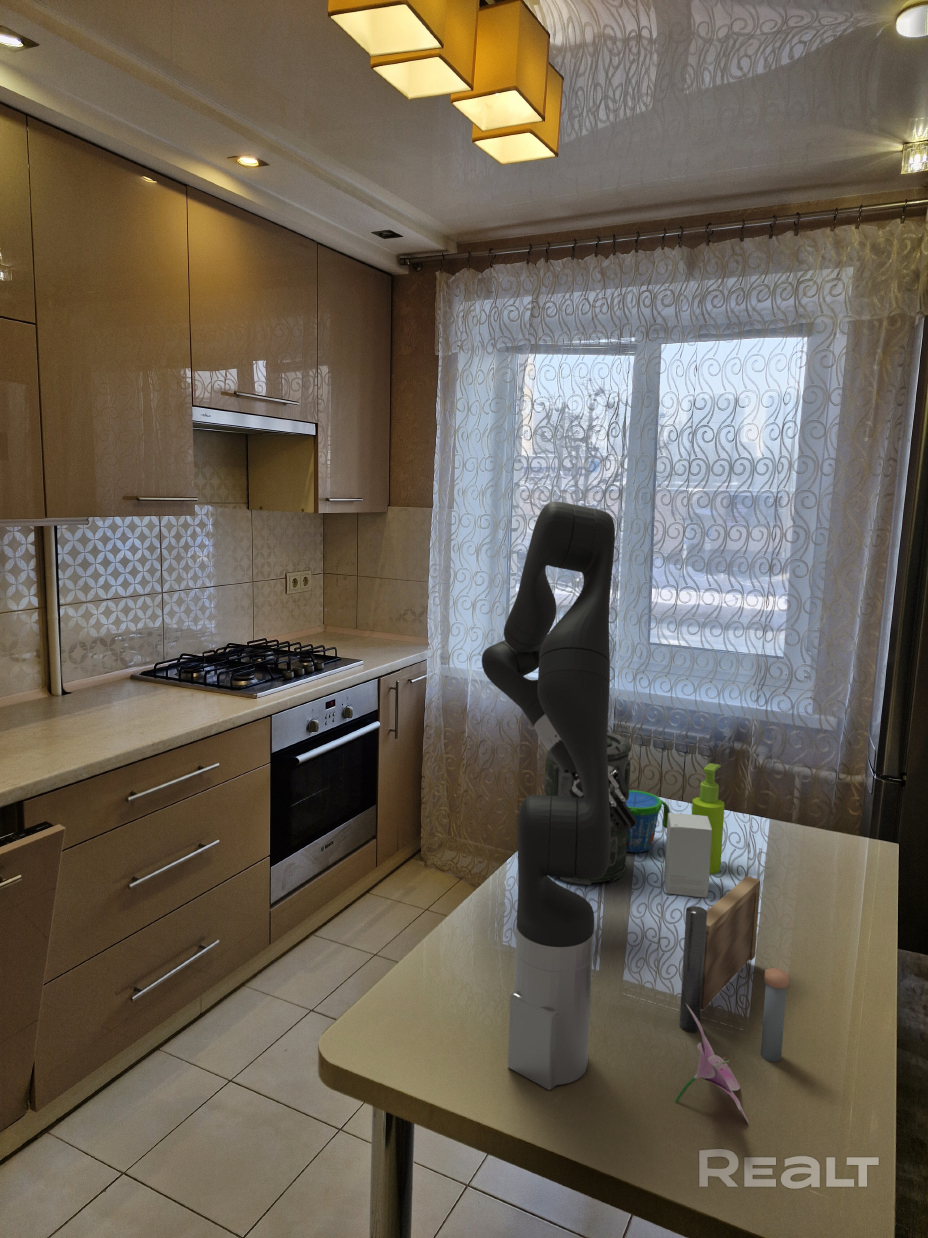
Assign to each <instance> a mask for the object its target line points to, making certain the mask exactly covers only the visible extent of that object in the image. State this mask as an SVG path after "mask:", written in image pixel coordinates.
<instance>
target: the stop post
mask: <svg viewBox="0 0 928 1238" xmlns="http://www.w3.org/2000/svg"><path fill="white" fill-rule="evenodd" d="M763 979H764V982H765V990H764V1004H763V1016H762V1017H763V1019H762V1028H761V1029H762V1031H761V1043H760V1044H761V1045H760V1055H761V1057H762V1058H763V1059H764V1060H765V1061H768V1062H772V1063H773V1062H774V1063H777V1062H780V1061H781V1060H782V1054H783V1053H782V1050H783V1038H784V1025H785V1016H786V1015H785V1013H786V1001H787V1000H786V999H787V988H788V987H789V985H790V975H789V974H788V973H787V971H784V970H782V969H780V968H775V967H771V968H770V967H769V968H766V969H765V971H764V978H763Z"/></svg>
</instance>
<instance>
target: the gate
mask: <svg viewBox="0 0 928 1238" xmlns="http://www.w3.org/2000/svg"><path fill="white" fill-rule="evenodd" d="M760 891H761V879H757V878H755V877H751V876H748V875H746V876H745V877H744V878H743V879H742V880H741V881H740V882H739V883H737V884H736V885H735V886H734V887H733V888H732V889H730V890H729V891H728V892H727V893H726V894H725V895H723V897H722V898H720V899H719V900H718V901H716V902H715V903H714V904H713V905H712V906H711V907H710V908H709V909H707V910H706V911H707V923H706V939H705V954H704V970H703V985H702V1001H701V1011H704V1010H705V1009H706V1008H707V1006H708V1005H709V1004H710V1003H711V1002H712V1001H713V1000H714V998H716V997H717V995H718V994H719V993H720V992H721V991H722V990H723V989H724V988H726V986H727V984H729V982H730V981H731V980H732V979H733V978H734V977H735V976H736V975H737V974H738V972H740V970H742V968H743V967H745V965H746V964H747V963H748V962H749V961H753V959H754V958H755V957H756V949H757V947H756V944H757V935H758V917H759V904H760Z"/></svg>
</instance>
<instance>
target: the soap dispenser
mask: <svg viewBox="0 0 928 1238" xmlns="http://www.w3.org/2000/svg"><path fill="white" fill-rule="evenodd" d="M721 767H722V764H717V763H710V762H709V763H707V765H705V766H704V768H703V772H704V773H705V777H704V778H705V779H704V781H701V782H700V784H699V796H697V797H694V798H692V803H691V815H701V816H708V819H709V822H710V825H711V828H712V837H711V852H710V869H709V875H715V874H717V873H720V872H721V866H722V865H721V864H722V849H723V837H724V836H723V835H724V834H723V833H724V821H725V819H724V818H725V802H724V801H722V800H721V799H719V791H720V790H719V789H720V786H719V783H717V782H716V781H715V779H716V771H717V770H718V769H719V768H721Z"/></svg>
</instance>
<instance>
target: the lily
mask: <svg viewBox="0 0 928 1238" xmlns="http://www.w3.org/2000/svg"><path fill="white" fill-rule="evenodd" d="M686 1005H687V1004H686ZM687 1007H688V1009H689V1010H690V1012H691V1014H692V1016H693V1018H694V1019H695V1021H696V1023H697V1025H698V1028H699V1030H698V1031H699V1032H700V1034H701V1038H702V1039H701V1042H698V1043H697V1046H696V1047H697V1048H698V1050H699V1058H698V1065H697V1070H696V1071H697V1072H696V1074H695V1075H694V1076H693V1077H692V1078H691V1079H690V1080H689V1081H688V1082H687V1083H686V1084H685V1086H684V1087H683V1088H682V1090H681V1091H680V1092H679V1093H678V1095H677V1096H676V1098H675V1100H674V1103H678V1102H679V1101H680V1099H681V1097H682V1096H683V1095H684V1093H685V1092H686V1090H687V1088H689V1087H690V1086H691V1084H692V1083H693V1082H695V1081H696V1080H697V1079H703V1080H705V1081H707V1082H710V1083H711V1084H712V1085H715V1086H717V1087H719V1088H720V1089H722V1090H723V1091H724V1092H725V1093H726V1094H727V1095H729V1097H731V1098H732V1101H734V1104H736V1106H737V1108H738V1110H739V1111H740V1112H741V1114H742V1116H743V1117H744V1119H745V1121H746V1123H747V1124H749V1120H748V1119H747V1116H746V1114H745V1112H744V1110H743V1107H742V1106H741V1102H740V1100H739V1098H738V1097H737V1095H736V1094H735V1093H734V1091H735V1092H736V1091H739V1090H740V1089H741V1086H740V1084H739V1081H738V1080H737V1079H736V1076H735V1074H734V1073H733V1071H732V1069H731V1068H730V1065H728V1064H727V1063H732V1062H733V1060H731V1059H728V1060H725V1059H726V1057H727V1055H725V1056H724V1057H723V1058H722V1057H720V1056H719V1055H715V1052H714V1050H713V1048H712V1045H711V1044H710V1042H709V1041H708V1038H707V1037H706V1035H705V1032H704V1029H703V1027H702V1025H701V1022H700V1023H699V1021H698V1019H697V1018H696V1016H695V1014H694V1013H693V1012H692V1010H691V1009H690V1008H689V1006H688V1005H687Z"/></svg>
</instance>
